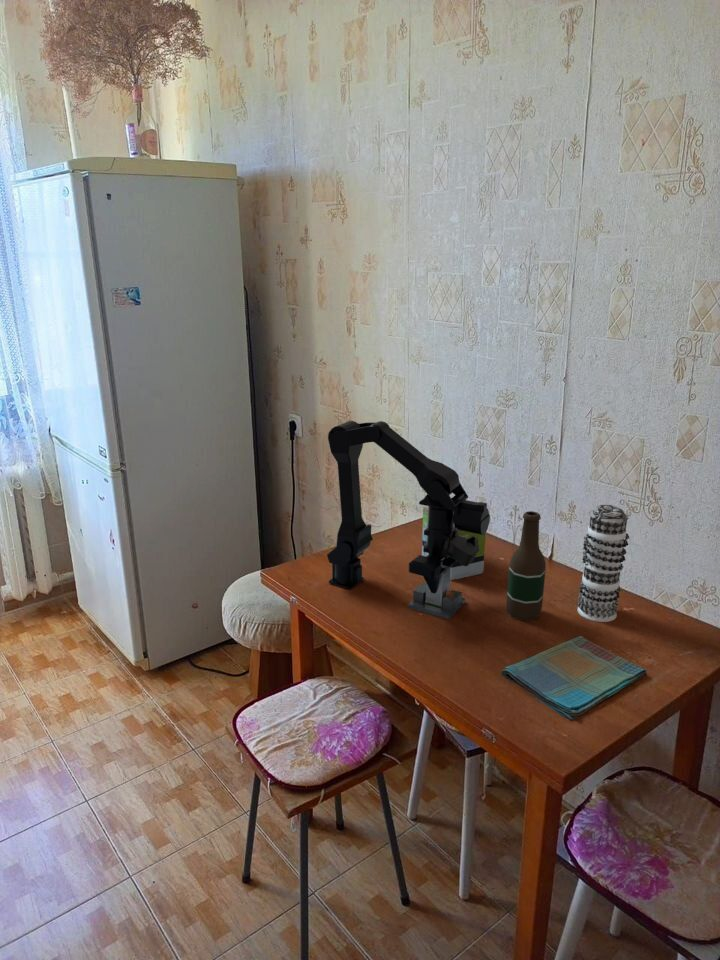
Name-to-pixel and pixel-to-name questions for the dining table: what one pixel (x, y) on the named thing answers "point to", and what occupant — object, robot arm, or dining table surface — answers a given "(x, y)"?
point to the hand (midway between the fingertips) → (437, 589)
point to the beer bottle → (526, 573)
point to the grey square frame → (449, 607)
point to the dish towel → (573, 676)
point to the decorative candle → (603, 563)
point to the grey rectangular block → (439, 589)
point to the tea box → (457, 568)
